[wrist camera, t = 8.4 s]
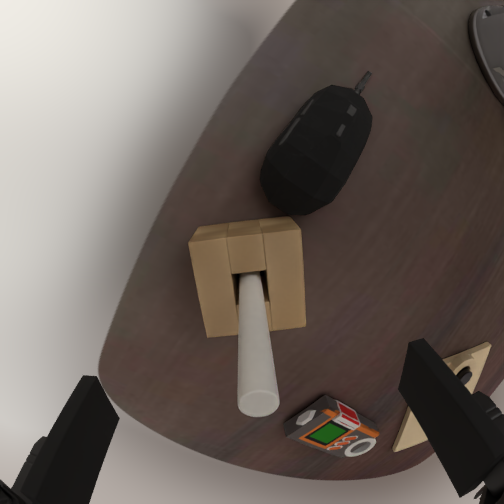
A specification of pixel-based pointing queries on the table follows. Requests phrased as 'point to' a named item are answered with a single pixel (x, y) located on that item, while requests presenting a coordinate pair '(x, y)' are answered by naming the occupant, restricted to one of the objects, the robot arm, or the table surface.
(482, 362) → the plate
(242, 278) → the stylus
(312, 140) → the gaming mouse
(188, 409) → the table surface
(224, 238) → the pen stand
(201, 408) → the table surface
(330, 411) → the electronic device
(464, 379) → the button
